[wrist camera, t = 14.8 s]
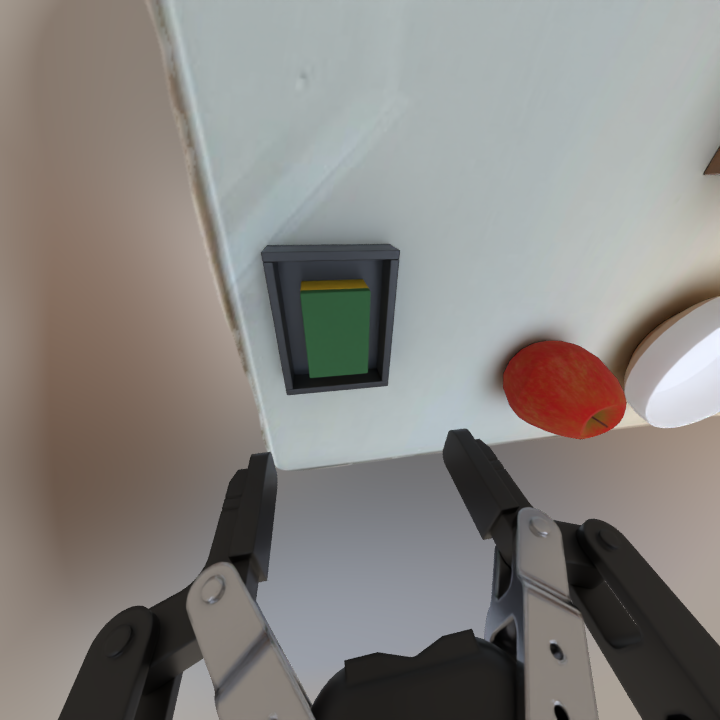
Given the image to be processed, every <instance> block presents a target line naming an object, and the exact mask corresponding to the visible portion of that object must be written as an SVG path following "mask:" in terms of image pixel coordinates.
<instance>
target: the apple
mask: <svg viewBox="0 0 720 720" xmlns="http://www.w3.org/2000/svg"><path fill="white" fill-rule="evenodd" d="M503 389H504V391H505V394H506V397H507V400H508V402H509V405H510V407H511V408H512V410H513V411H514V412H515V413H516V414H517V416H518V417H519V418H521V419H522V420H524V421H526V422H527V423H529V424H531V425H533V426H536V427H538V428H540V429H543V430H545V431H548V432H551V433H554V434H557V435H561V436H565V437H570V438H576V439H585V438H590V437H594V436H597V435H600V434H602V433H605V432H607V431H609V430H610V429H612V428H614V427H615V426H616V425H617V424H618V423H620V421H621V419H622V418H623V416H624V413H625V410H626V403H627V402H626V398H625V394H624V391H623V389H622V387H621V385H620V383H619V382H618V380H617V378H616V377H615V376H614V375H613V374H612V373H611V371H610V370H609V369H608V368H607V367H606V366H605V365H604V363H603V362H602V361H601V360H600V359H599V358H598V357H596V356H595V355H593V354H592V353H590V352H588V351H587V350H585V349H584V348H582V347H580V346H578V345H575V344H572V343H567V342H563V341H542V342H538V343H533V344H531V345H529V346H527V347H525V348H523V349H521V350H520V351H519V352H518V353H517V354H516V355H515V356H514V357H513V358H512V359H511V360H510V361H509V363H508V365H507V367H506V369H505V371H504V373H503Z"/></svg>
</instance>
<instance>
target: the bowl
mask: <svg viewBox="0 0 720 720" xmlns="http://www.w3.org/2000/svg"><path fill="white" fill-rule="evenodd" d="M624 382H625V389H624V390H625V398H626V400H627V402H628V403H629V404H630V406H631V407H632V408H633V410H634V411H635V412H636V413H637V414H638V415H639V416H641V417H642V418H643V419H644V420H645V421H647V422H648V423H649V424H651V425H652V426H655V427H660V428H674V427H679V426H684V425H688V424H691V423H694V422H697V421H700V420H702V419H705V418H708V417H710V416H712V415H714V414H716V413H718V412H720V296H717V297H714V298H710V299H707V300H704V301H702V302H700V303H698V304H695V305H693V306H691V307H690V308H688V309H686V310H684V311H682V312H681V313H679V314H676V315H674V316H673V317H671V318H669V319H667V320H666V321H665V322H663V323H662V324H660V325H659V326H658V327H656V328H655V329H654V330H653V331H652V332H650V333H649V334H648V335H647V336H646V337H645V338H644V339H643V341H642V342H641V343H640V344H639V346H638V347H637V348H636V350H635V351H634V353H633V355H632V357H631V359H630V363H629V365H628V367H627V370H626V373H625V377H624Z"/></svg>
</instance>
